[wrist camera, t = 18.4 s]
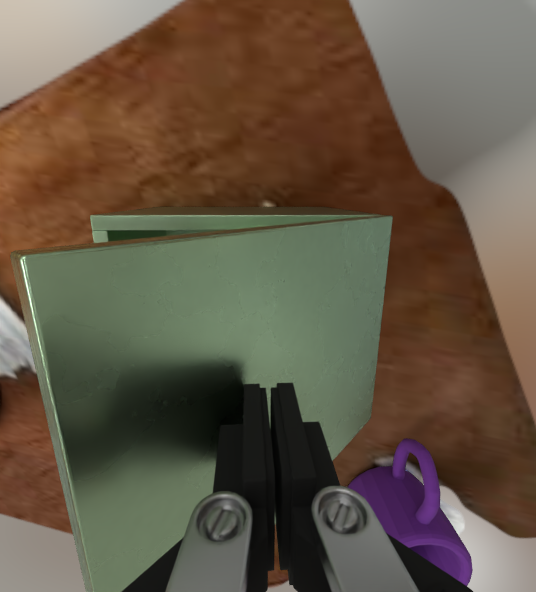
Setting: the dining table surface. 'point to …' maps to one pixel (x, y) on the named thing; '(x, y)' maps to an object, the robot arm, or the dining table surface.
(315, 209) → the trash bin
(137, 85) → the dining table surface
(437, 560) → the mug
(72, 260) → the bin lid
